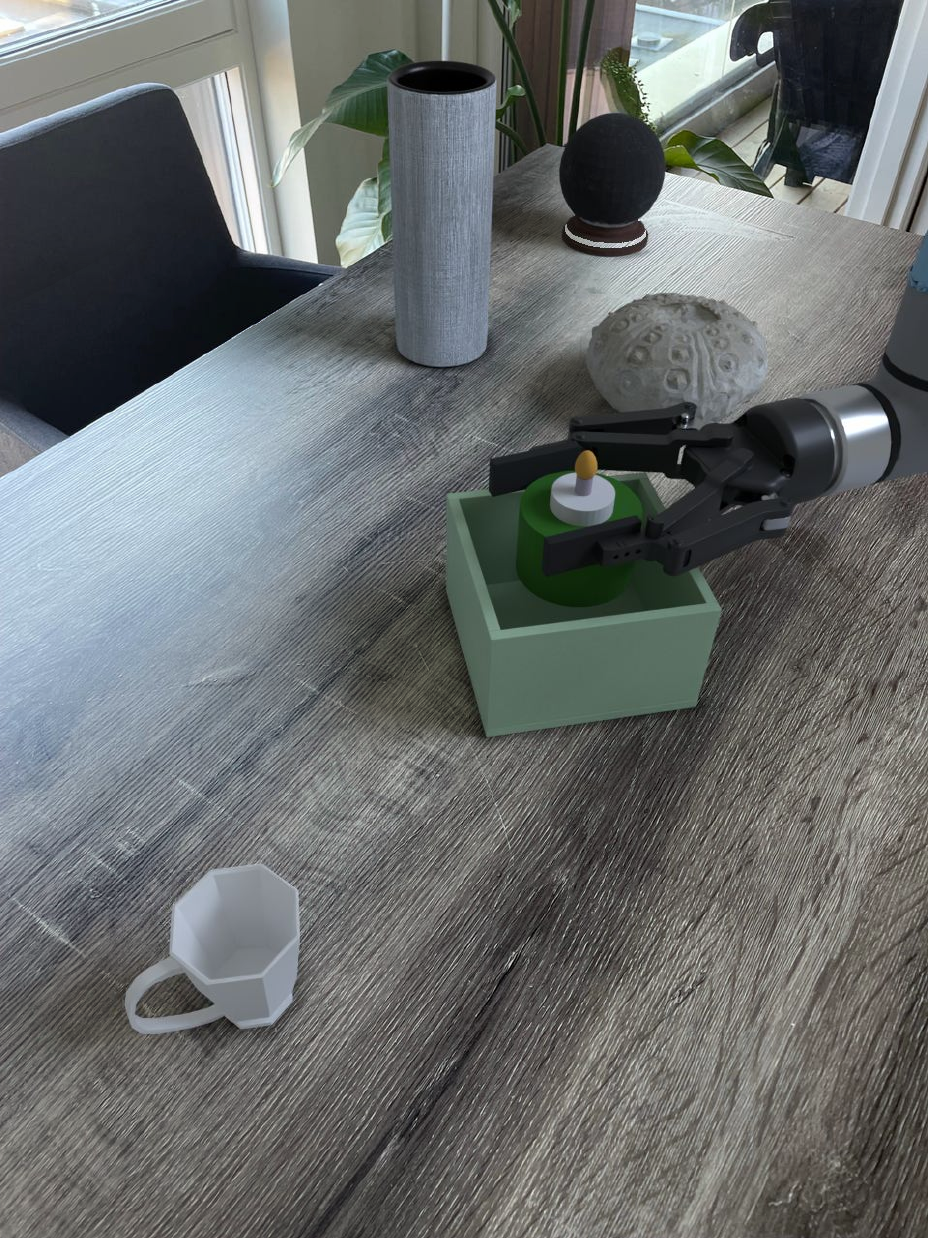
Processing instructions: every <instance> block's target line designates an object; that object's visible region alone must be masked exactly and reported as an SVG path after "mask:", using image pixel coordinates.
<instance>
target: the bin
mask: <svg viewBox="0 0 928 1238" xmlns="http://www.w3.org/2000/svg"><path fill="white" fill-rule="evenodd" d="M607 476H608V477H611V478H614V479H616V480H618V481H619V482H621V483H623V484H625V485H626V486H627V487H628V488H630V489H631V490H632V491H633V492H634V493H635V494H636V496H637V497H638V499H639V501H640V502H641V505H642V510H643V513H642V525H641V529H645V528H646V522H647V517H648V514H649V513H650V514H651V515H650V519H651V520H652V515H654V516H657V515H659V514H660V513H661V512H663V511H664V510H665V509H667V508H666V506H665V505H664V503H663V501H662V499H661V498H660V495H659V494H658V493H657V490H656V488H655V487H654V484H653V483H652V481H651V480H650V479H651V478H649V475H648V473H647V472H634V473H624V474H615V475H607ZM524 491H525V490H521V491H517V492H512V493H508V494H504V495H499V496H495V497H492V495H491V494H490V492H489V488H488V489H486V488H485V489H477V490H469V491H459V492H451V493H446V495H445V496H446V497H445V498H446V506H445V507H446V509H445V511H446V512H445V513H446V517H445V519H446V520H445V521H446V524H445V525H446V527H445V528H446V529H445V530H446V532H445V533H446V534H445V537H446V538H445V540H446V541H445V543H446V544H445V549H446V550H445V554H446V555H445V575H446V576H445V591H446V595H447V598H448V599H447V600H448V602H449V606H450V609H451V614H452V617H453V621H454V624H455V627H456V632H457V635H458V639H459V642H460V646H461V650H462V653H463V658H464V661H465V665H466V667H467V672H468V675H469V679H470V682H471V686H472V689H473V693H474V697H475V701H476V704H477V709H478V711H479V715H480V719H481V723H482V726H483V729H484V733H485V737H486V738H491V737H499V736H505V735H512V734H520V733H526V732H534V731H540V730H546V729H554V728H559V727H567V726H573V725H581V724H588V723H594V722H600V721H608V720H609V721H610V720H614V719H622V718H628V717H629V718H630V717H635V716H636V717H637V716H641V715H649V714H657V713H663V712H671V711H676V710H683V709H688V708H689V709H690V708H696V707H697V705H698V704H697V703H698V700H699V696H700V692H701V689H702V685H703V681H704V677H705V673H706V670H707V666H708V662H709V659H710V655H711V651H712V647H713V644H714V640H715V637H716V632H717V628H718V626H719V621H720V618H721V615H722V610H723V609H722V607H721V606H720V604H719V602H718V600H717V598H716V597H715V594H714V593H713V591H712V590H711V587H710V586H709V584H708V582H707V580H706V579H705V577H704V575H703V573H702V571H701V570H700V568H699V567H697V568H694V569H692V570H690V571H688V572H685V573H683V574H681V575H679V576H669V575H667V574H665V573H664V571H663V565H662V564H660V563H658V562H657V561H647V560H644V559H639V560H635V561H634V566H633V571H632V577H631V581H630V583H629V585H628V587H627V588H626V590H625V591H624V592H623V593H622V594H621V595H619V596H618V597H617V598H615V599H613V600H611V601H609V602H607V603H604V604H601V605H597V606H592V607H567V606H561V605H557V604H554V603H550V602H548V601H546V600H543V599H541V598H539V597H538V596H536V595H535V594H533V593H531V592H530V591H529V590H528V589H527V588H526V587H525V586H524V585H523V583H522V582H521V580H520V579H519V577H518V574H517V571H516V556H517V541H518V526H519V512H520V501H521V497H522V494H523V493H524Z"/></svg>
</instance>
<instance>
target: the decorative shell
mask: <svg viewBox="0 0 928 1238" xmlns="http://www.w3.org/2000/svg"><path fill="white" fill-rule="evenodd" d="M767 342H768V340H767V339H766V338H765V337H764V336H762V334H761V332H760V331H759V330H758V322H757V321H755V320H751V319H750V318H749V317H748V316H747V315H746V314H744V313H742V312H741V311H740V310H739V309H737V308H736V307H734V306H733V305H730V304H728V302H726V300H725V299H722V300H716V299H715V298H713V297H712V298H707V297H706V296H702V295H699V296H697V295H695V294H681V293H679V292H658V293H655V294H654V293H653V294H651V293H646V294H644V295H643V297H641V298H638V299H633V300H632V301H631V302H628V303H626V304H624V305H622V306H620V307H619V308H618V309H616V310H614V311H613V312H611V311H609V312H608V313H607V316H606V317H605V318H604V319H603V320H602V321H601V322H600V323H599V324H598V325H595V326H592V328H591V337H590V339H589V341H588V347H587V350H586V351H587V353H586V355H585V363H586V367H587V370H588V373H589V376H590V379H591V381H592V382H593V385H594V387H595V388H596V390H597V391H598V392H599V394H600V395H601V396H602V398H603V399H604V400H605V401H606V402H607V403H608V404H609V405H610V406H611V407H612V408H613V409H614V410H615V411H617V412H618V413H620V412H630V411H641V410H652V409H663V408H668V407H671V406H674V405H677V404H680V403H683V402H692V403H694V404H696V405H697V409H696V414H695V416H696V417H698V418H699V419H700V420H702V421H703V422H704V423H706V424H709V423H719V422H721V421H723V420H724V419H726V418H728V417H729V416H731V415H733V414H734V413H736V412H738V411H739V410H740V409H741V408H742V406H743V405H745V404H747V403H750V402H751V400H752V399H753V398H754V397H755V396H757V395H758V394H759V393H760V392H762V390H763V387H764V385H765V384H764V383H765V381H766V378H767V373H768V368H769V360H768V353H767V352H768V351H767Z"/></svg>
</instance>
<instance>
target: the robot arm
mask: <svg viewBox="0 0 928 1238" xmlns="http://www.w3.org/2000/svg"><path fill="white" fill-rule="evenodd" d="M696 409H697V405H696V404H694V403H692V402H683V403H680V404H677V405H674V406H671V407H668V408H663V409H652V410H641V411H630V412H620V413H619V412H611V413H599V414H588V415H579V416H578V415H577V416H572V417H571V418H569V421H568V422H569V423H568V432H567V433H568V434H567V438H566V439H562V440H558V441H554V442H548V443H544V444H539V445H534V446H532V447H531V448H529V449H528V450H526V451H521V452H516V453H512V454H507V455H501V456H498V457H493V458H489V469H488V470H489V471H488V474H489V475H488V489H489V492H490V494H491V495H492V497H495V496H499V495H504V494H508V493H512V492H517V491H521V490H525V489H526V488H527V487H528V486H529V485H530V484H531V483H533V482H534V481H536V480H537V479H539V478H541V477H544V476H546V475H549V474H553V473H558V472H562V471H575V464H576V461H577V458H578V457H579V455H580V454H581V453H582V452H584V451H586V450H589V451H591V452H592V453H593V454H594V455H595V457H596V460H597V471H612V472H631V473H632V472H634V473H643V472H646V473H657V474H658V473H659V474H662V475H664V476H665V478H667V479H670V480H685V481H686V482H688V483H689V484H691V485H692V486H693V487H694V488H693V489H691V490H690V491H689V492H687V493H686V494H684V495H682V496H681V497H680V498H679V499H677V500H676V501H675V502H673V503H672V504H671V505H670V506H668V507H667V508H666V509H665V510H664V511H663V512H661V513H660V514H659V515H657V516H654V515H652V520H651V519H650V515H651V514H650V513H649V514H648V517H647V522H646V528H645V529H641V525H642V521H641V520H640V519H639V517H638V516H637V515H634V516H630V517H626V518H622V519H618V520H614V521H609V522H605V523H601V524H597V525H593V526H589V527H585V528H581V529H577V530H572V531H568V532H564V533H560V534H556V535H552V536H548V537H544V546H543V557H542V568H541V570H542V572H543V573H544V575H545V576H546V577H549V576H553V575H557V574H560V573H564V572H568V571H572V570H576V569H580V568H584V567H588V566H592V565H596V564H600V566H601V567H612V566H616V565H620V564H623V563H627V562H631V561H635V560H639V559H644V560H647V561H657V562H658V563H660V564H662V565H663V571H664V573H665V574H667V575H669V576H679V575H681V574H683V573H685V572H688V571H690V570H692V569H694V568H697V567H698V568H699V567H701V566H703V565H705V564H708V563H710V562H712V561H714V560H717V559H719V558H720V557H723V556H725V555H728V554H731V553H733V552H735V551H737V550H739V549H741V548H743V547H746V546H748V545H750V544H752V543H754V542H758V541H763V540H770V539H778V538H779V539H780V538H783V537H785V536H786V534H787V531H788V528H789V525H790V521H791V519H792V516H793V515H792V514H793V512H794V509H795V506H796V505H799V504H803V503H807V502H811V501H814V500H816V499H818V498H824V497H828V496H832V495H837V494H842V493H844V492H848V491H849V492H850V491H852V490H857V489H861V488H864V487H869V486H873V485H875V484H881V483H884V482H889V481H894V480H898V479H902V478H906V477H911V476H915V475H920V474H924V473H928V229H927V230H926V232H925V234H924V236H923V238H922V241H921V244H920V246H919V249H918V250H917V253H916V257H915V258H914V262H913V263H912V265H911V266H910V267H909V270H908V274H907V282H906V285H905V288H904V292H903V294H902V298H901V301H900V304H899V306H898V309H897V313H896V316H895V319H894V323H893V326H892V329H891V332H890V335H889V337H888V342H887V344H886V346H885V348H884V352H883V354H882V356H881V358H880V361H879V365H878V368H877V370H876V374H875V376H874V377H873V378H871V379H867V380H863V381H860V382H856V383H853V384H847V385H843V386H839V387H837V386H836V387H833V388H828V389H823V390H818V391H813V392H812V391H811V392H807V393H804V394H802V395H800V396H798V397H789V398H785V399H780V400H775V401H770V402H765V403H761V404H757V405H754V406H752V407H749V408H748V409H747V410H746V411H744V413H742V414H741V415H740V416H739V417H738V418H737V419H735V420H734V421H732V422H728V423H720V422H716V423H709V424H706V423H704V422H703V421H702V420H700V419H699V418H698V417H696V416H695V414H696ZM684 446H685V447H684ZM682 447H684V448H683V449H682ZM681 449H682V450H683V451H682V455H681V461H680V463H679V457H680V452H681ZM737 506H740V507H737ZM735 507H737V508H735ZM734 508H735V509H734ZM730 509H733V510H730ZM729 510H730V511H729ZM727 511H728V512H727Z"/></svg>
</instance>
